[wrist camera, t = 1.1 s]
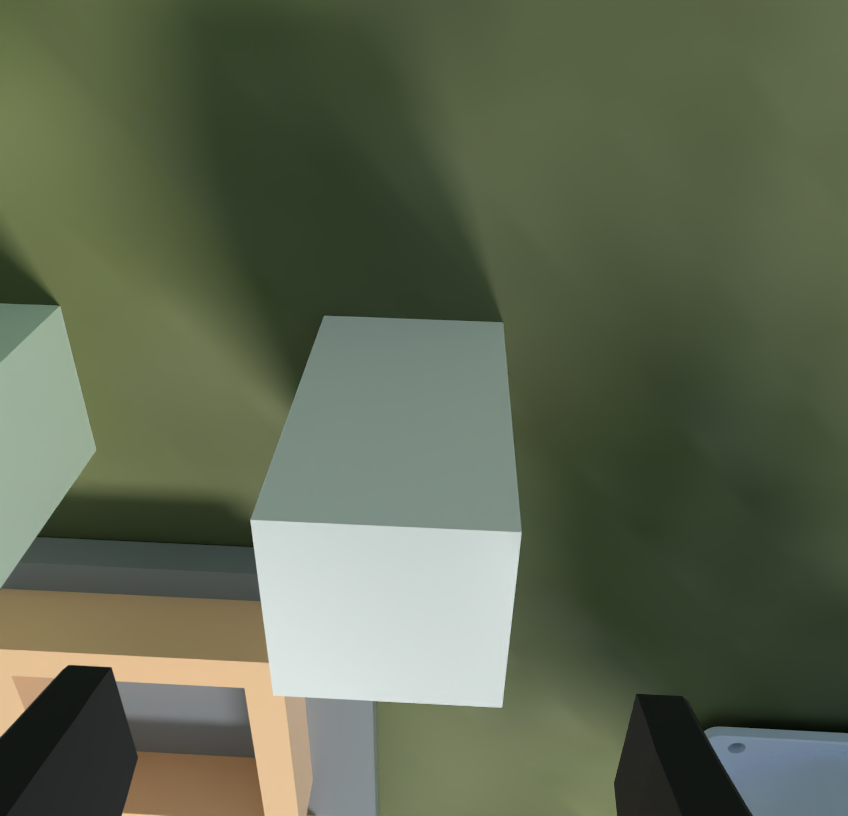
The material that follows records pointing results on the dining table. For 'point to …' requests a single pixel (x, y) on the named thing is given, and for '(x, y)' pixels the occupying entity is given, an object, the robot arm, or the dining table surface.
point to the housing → (184, 679)
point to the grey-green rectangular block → (393, 517)
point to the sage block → (36, 425)
